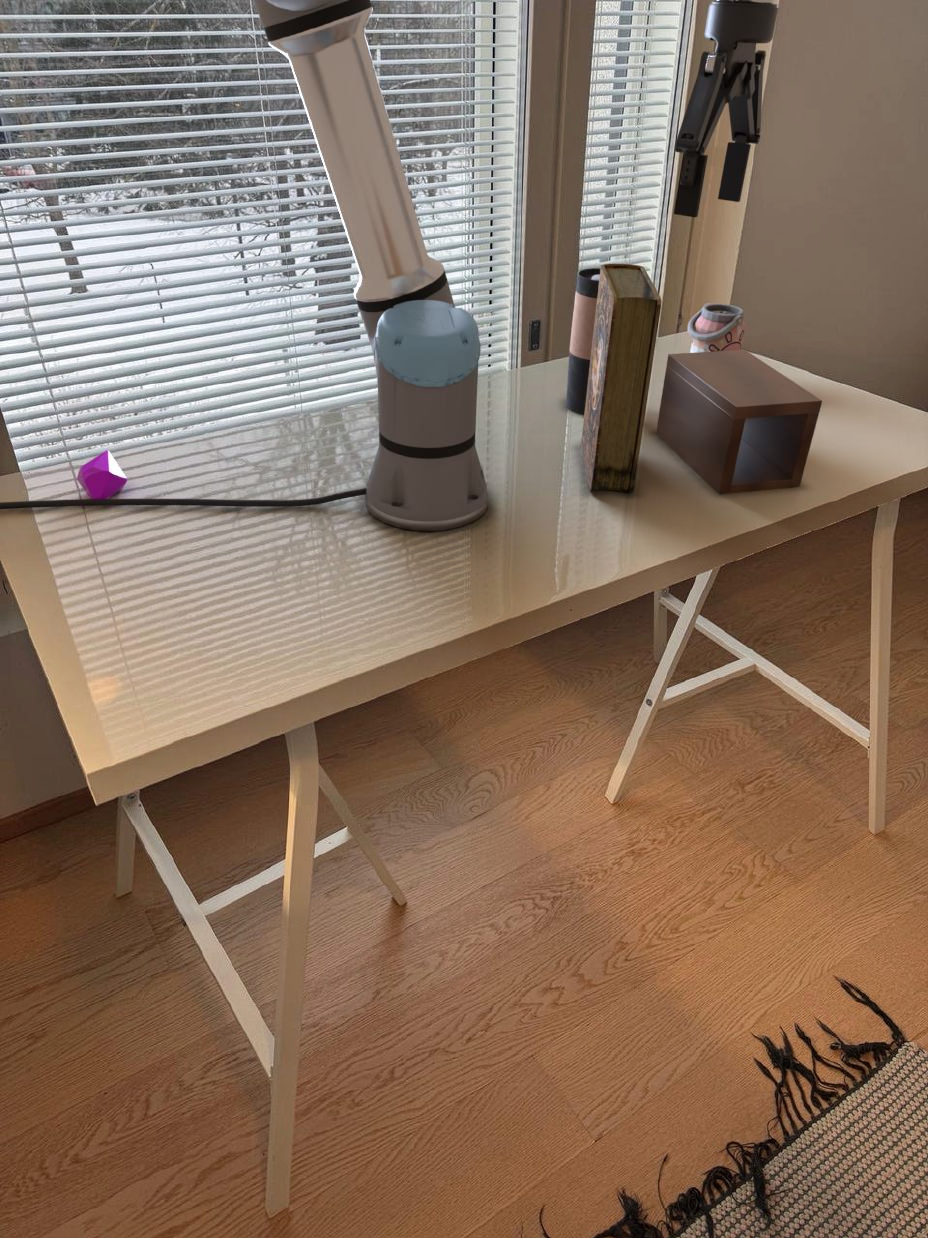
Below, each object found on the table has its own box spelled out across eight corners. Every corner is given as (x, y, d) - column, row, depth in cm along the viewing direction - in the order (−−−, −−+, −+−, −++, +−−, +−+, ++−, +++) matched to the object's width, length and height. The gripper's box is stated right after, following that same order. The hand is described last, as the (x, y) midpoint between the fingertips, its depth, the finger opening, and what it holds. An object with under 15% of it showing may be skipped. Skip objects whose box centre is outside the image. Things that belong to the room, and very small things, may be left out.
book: (579, 443, 132) (599, 262, 118) (617, 445, 132) (642, 264, 118) (590, 495, 119) (614, 298, 105) (632, 497, 119) (662, 299, 105)
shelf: (718, 494, 120) (736, 406, 114) (655, 433, 136) (668, 353, 129) (800, 486, 123) (822, 400, 116) (728, 428, 139) (744, 349, 132)
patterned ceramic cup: (702, 394, 150) (716, 320, 144) (669, 377, 156) (681, 305, 150) (745, 385, 154) (760, 313, 147) (711, 369, 160) (724, 299, 153)
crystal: (77, 491, 116) (69, 457, 113) (119, 481, 118) (113, 447, 116) (92, 507, 112) (84, 473, 110) (135, 496, 115) (129, 462, 113)
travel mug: (559, 411, 142) (572, 278, 131) (569, 394, 148) (582, 265, 137) (608, 418, 141) (625, 283, 129) (616, 401, 147) (633, 270, 135)
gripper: (735, -2, 91) (696, 227, 103) (813, 2, 108) (772, 198, 120) (665, -5, 94) (635, 217, 106) (752, -1, 111) (718, 190, 123)
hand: (707, 207), depth 113 cm, fingers open, 13 cm apart
